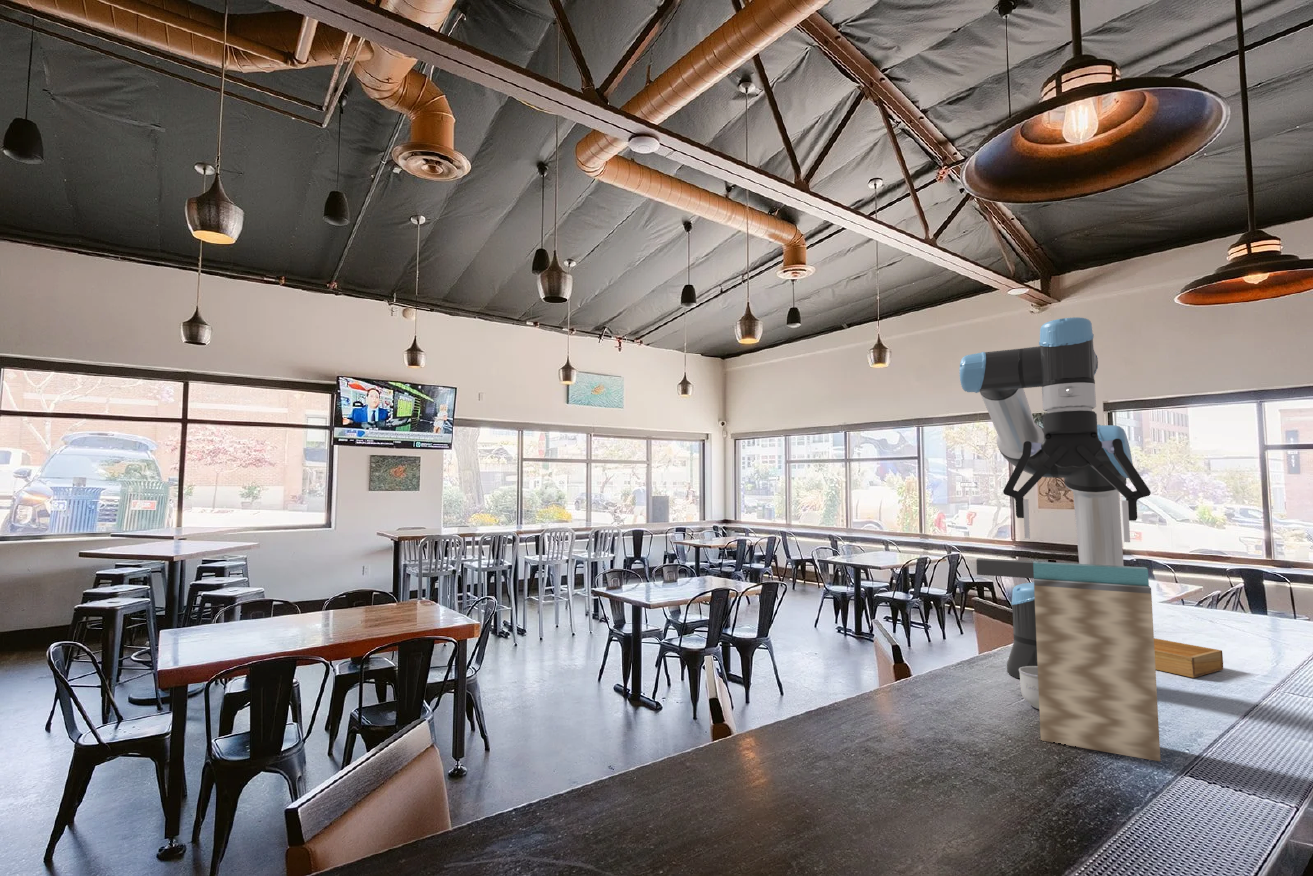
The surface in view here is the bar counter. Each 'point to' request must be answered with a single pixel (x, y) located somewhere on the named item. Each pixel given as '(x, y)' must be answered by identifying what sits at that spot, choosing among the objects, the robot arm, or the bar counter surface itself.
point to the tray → (1186, 658)
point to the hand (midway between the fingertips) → (1075, 540)
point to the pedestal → (1097, 666)
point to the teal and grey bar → (1064, 571)
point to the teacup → (1030, 685)
